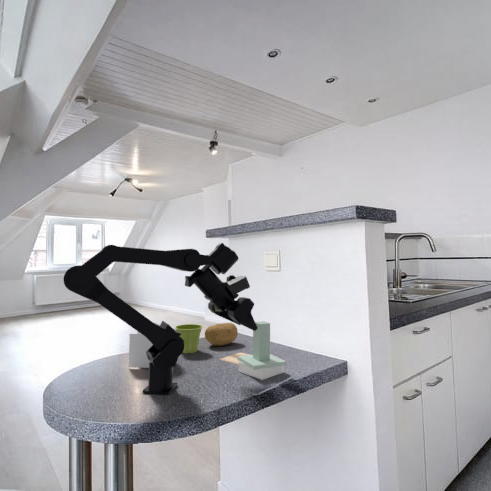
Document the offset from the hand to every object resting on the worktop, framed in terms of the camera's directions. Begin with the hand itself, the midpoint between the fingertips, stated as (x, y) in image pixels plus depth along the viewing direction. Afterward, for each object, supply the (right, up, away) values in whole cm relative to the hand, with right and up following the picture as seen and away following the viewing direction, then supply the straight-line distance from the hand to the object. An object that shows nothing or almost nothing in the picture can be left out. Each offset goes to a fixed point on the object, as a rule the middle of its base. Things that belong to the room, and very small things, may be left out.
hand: (248, 326), depth 92 cm
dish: (+4, -13, +1) cm, 14 cm away
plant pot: (-20, -15, +23) cm, 34 cm away
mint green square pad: (-2, -14, +14) cm, 20 cm away
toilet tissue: (-29, -14, +9) cm, 33 cm away
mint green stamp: (+4, -10, +1) cm, 11 cm away
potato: (-10, -15, +32) cm, 37 cm away
